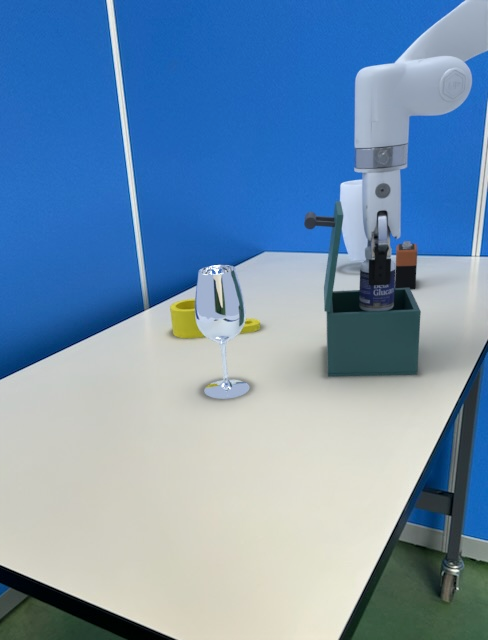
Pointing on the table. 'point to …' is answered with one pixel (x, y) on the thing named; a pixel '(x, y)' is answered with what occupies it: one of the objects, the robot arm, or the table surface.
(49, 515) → the table surface
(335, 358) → the cool chest
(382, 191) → the robot arm
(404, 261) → the battery
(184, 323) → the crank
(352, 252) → the cup
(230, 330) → the wineglass
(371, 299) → the pill bottle
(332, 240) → the chest lid
